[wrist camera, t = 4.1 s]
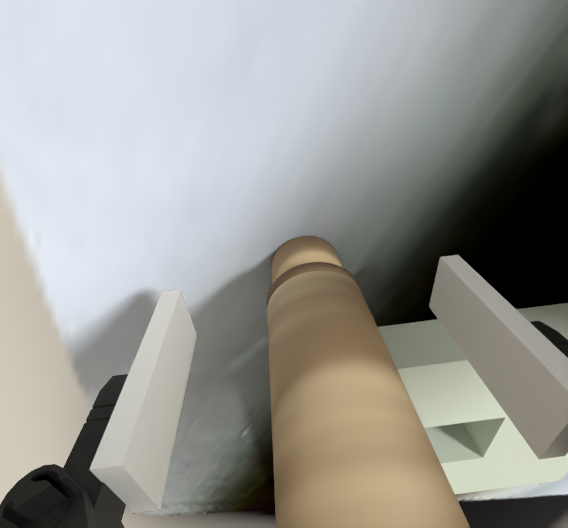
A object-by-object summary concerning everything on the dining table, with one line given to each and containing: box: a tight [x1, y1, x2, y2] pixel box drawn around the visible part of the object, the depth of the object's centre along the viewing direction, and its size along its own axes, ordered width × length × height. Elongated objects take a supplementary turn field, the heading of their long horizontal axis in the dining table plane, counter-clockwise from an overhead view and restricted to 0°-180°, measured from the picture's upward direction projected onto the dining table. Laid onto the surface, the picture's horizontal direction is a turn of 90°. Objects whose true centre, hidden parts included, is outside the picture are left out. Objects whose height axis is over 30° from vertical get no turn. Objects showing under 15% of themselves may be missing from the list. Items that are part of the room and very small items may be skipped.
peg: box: [267, 236, 470, 528], centre depth 10 cm, size 4×4×12 cm
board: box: [378, 303, 568, 494], centre depth 22 cm, size 18×22×3 cm
